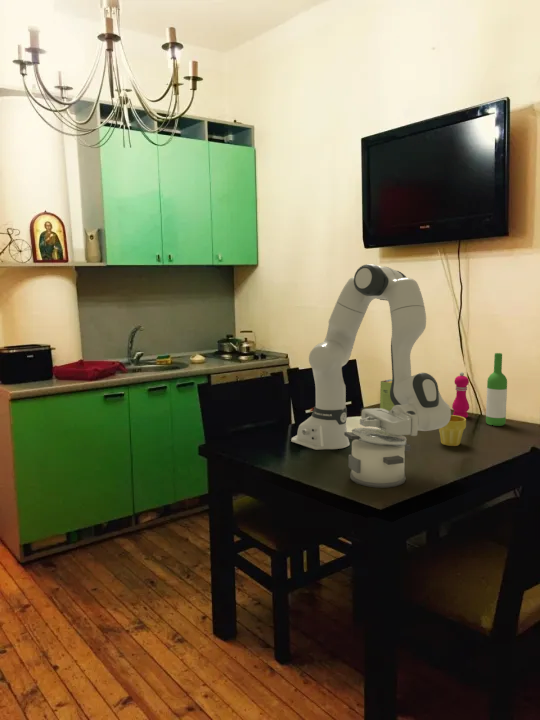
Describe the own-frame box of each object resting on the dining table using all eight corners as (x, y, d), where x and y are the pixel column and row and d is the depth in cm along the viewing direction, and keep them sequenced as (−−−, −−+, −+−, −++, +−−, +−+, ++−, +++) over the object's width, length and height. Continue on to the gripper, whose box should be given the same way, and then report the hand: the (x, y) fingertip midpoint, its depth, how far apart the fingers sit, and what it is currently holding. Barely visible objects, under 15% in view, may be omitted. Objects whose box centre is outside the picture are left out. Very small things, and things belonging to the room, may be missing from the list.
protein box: (409, 420, 252) (410, 385, 249) (379, 414, 262) (379, 381, 260) (421, 415, 259) (422, 381, 257) (391, 410, 270) (392, 378, 267)
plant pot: (467, 448, 209) (467, 421, 207) (437, 446, 211) (438, 420, 209) (463, 440, 219) (464, 415, 217) (435, 439, 221) (435, 414, 219)
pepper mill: (470, 415, 257) (472, 371, 255) (466, 419, 251) (468, 374, 249) (454, 414, 261) (455, 370, 259) (450, 417, 255) (451, 372, 253)
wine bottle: (495, 427, 237) (498, 355, 233) (481, 423, 244) (484, 353, 240) (509, 425, 240) (512, 353, 236) (495, 421, 247) (498, 351, 243)
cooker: (387, 464, 191) (388, 432, 190) (424, 485, 171) (424, 449, 170) (337, 470, 186) (337, 437, 184) (369, 493, 166) (369, 456, 164)
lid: (388, 433, 187) (389, 428, 187) (416, 446, 172) (417, 442, 172) (336, 431, 181) (336, 426, 181) (360, 445, 166) (361, 440, 165)
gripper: (385, 402, 188) (346, 405, 184) (420, 416, 169) (378, 420, 164) (385, 421, 189) (346, 425, 184) (419, 437, 170) (378, 441, 165)
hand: (361, 422), depth 174 cm, fingers closed
